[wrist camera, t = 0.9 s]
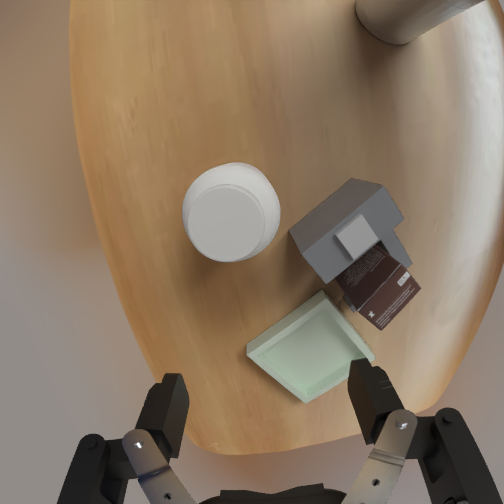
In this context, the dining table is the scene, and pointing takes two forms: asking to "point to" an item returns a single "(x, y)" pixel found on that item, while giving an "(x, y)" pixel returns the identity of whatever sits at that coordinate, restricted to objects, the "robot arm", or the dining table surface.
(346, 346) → the tray
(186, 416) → the robot arm
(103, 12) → the dining table surface
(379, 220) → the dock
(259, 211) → the pill bottle
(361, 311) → the box
